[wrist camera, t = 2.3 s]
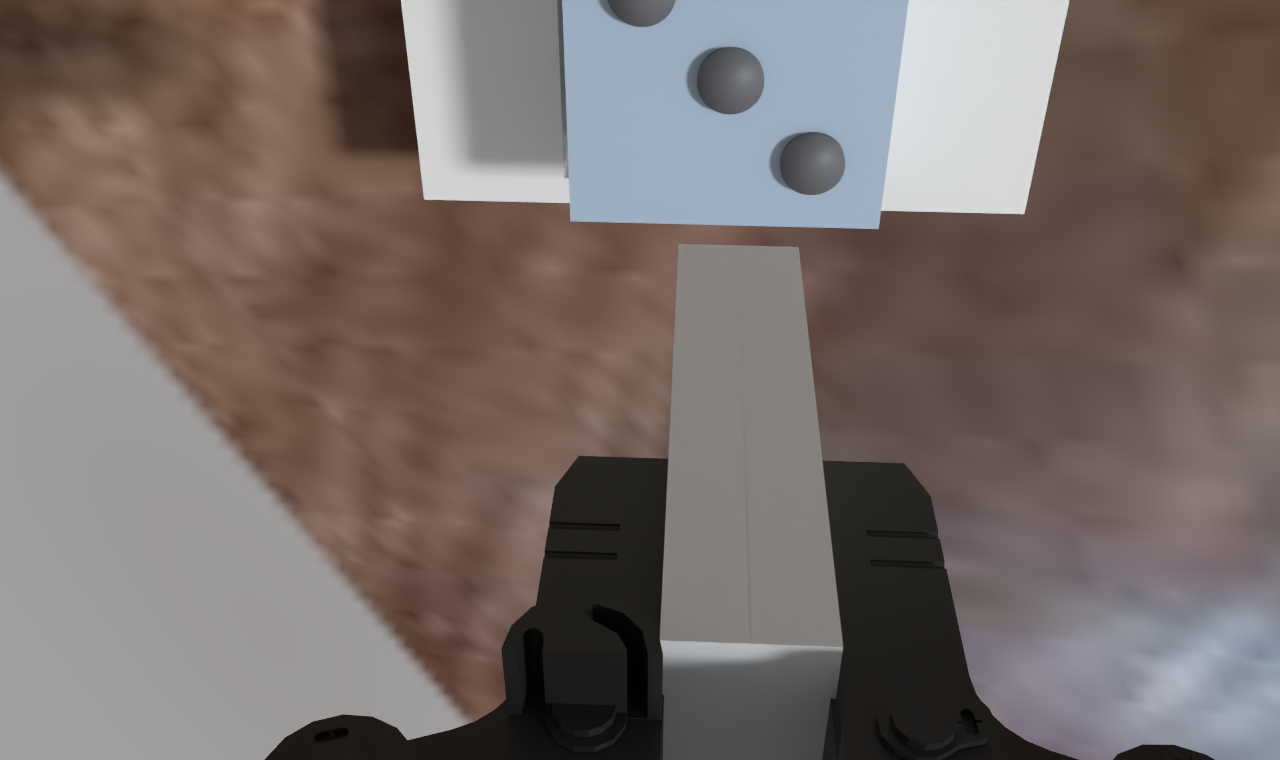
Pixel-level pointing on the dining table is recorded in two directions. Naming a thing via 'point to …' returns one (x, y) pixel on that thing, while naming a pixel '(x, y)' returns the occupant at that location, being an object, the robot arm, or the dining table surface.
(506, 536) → the dining table surface
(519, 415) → the dining table surface
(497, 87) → the panel
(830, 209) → the tile three
